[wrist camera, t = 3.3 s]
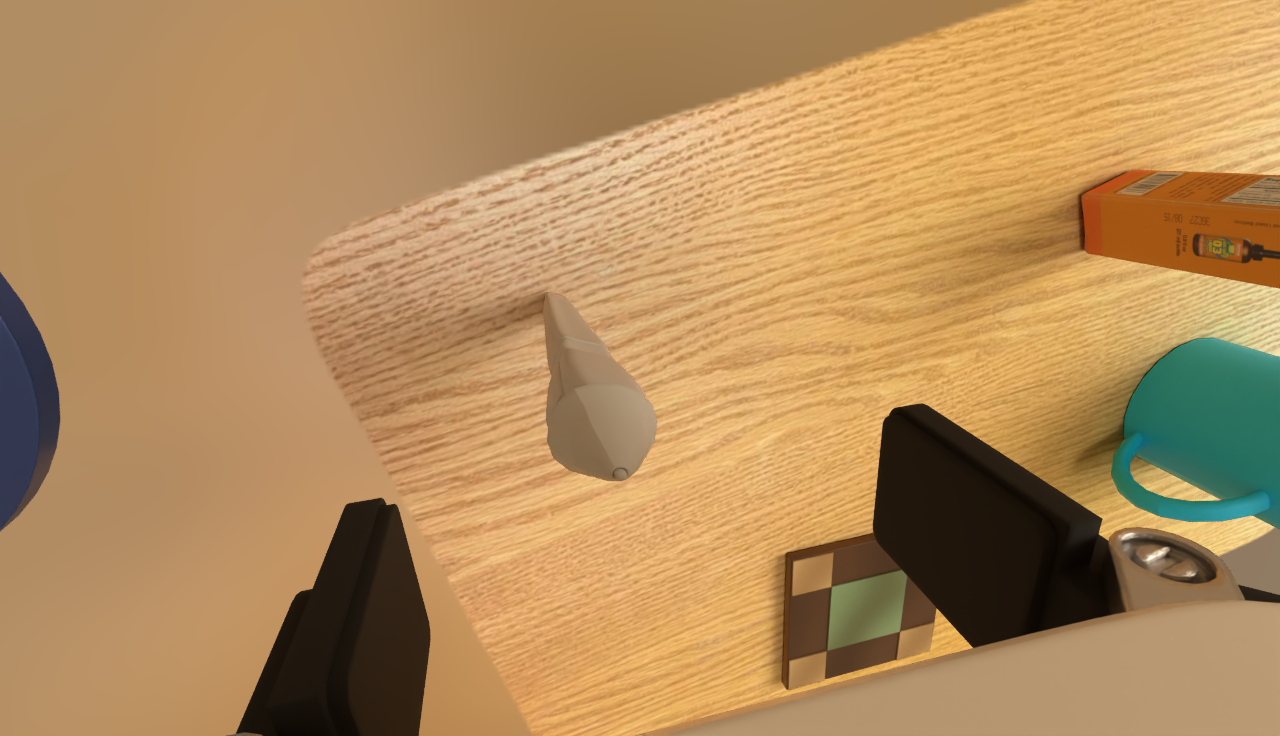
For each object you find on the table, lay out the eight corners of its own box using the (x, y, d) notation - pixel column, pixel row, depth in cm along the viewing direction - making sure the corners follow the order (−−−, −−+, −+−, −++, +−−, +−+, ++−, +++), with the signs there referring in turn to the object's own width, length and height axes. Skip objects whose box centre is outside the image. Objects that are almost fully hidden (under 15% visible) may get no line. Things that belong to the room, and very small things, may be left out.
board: (781, 682, 37) (787, 691, 37) (786, 553, 34) (791, 561, 33) (923, 643, 39) (931, 652, 39) (943, 517, 35) (951, 524, 35)
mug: (1237, 312, 35) (1438, 362, 28) (1237, 419, 38) (1415, 489, 31) (1060, 413, 35) (1217, 491, 27) (1077, 512, 38) (1219, 604, 31)
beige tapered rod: (575, 336, 26) (662, 535, 13) (514, 322, 25) (544, 521, 13) (591, 281, 25) (699, 436, 13) (528, 264, 24) (576, 413, 12)
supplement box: (1138, 226, 31) (1407, 267, 22) (1080, 253, 31) (1329, 306, 22) (1137, 162, 30) (1425, 179, 21) (1077, 191, 29) (1341, 220, 20)
